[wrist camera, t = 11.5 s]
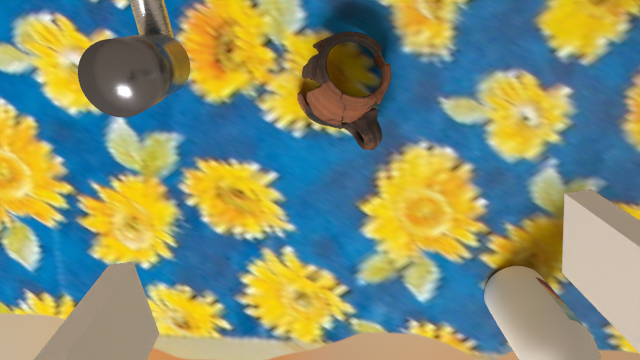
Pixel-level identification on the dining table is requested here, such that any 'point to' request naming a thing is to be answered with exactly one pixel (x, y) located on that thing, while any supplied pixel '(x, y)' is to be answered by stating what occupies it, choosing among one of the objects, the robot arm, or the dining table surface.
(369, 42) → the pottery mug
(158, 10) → the shaft
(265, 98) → the dining table surface
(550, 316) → the milk bottle
